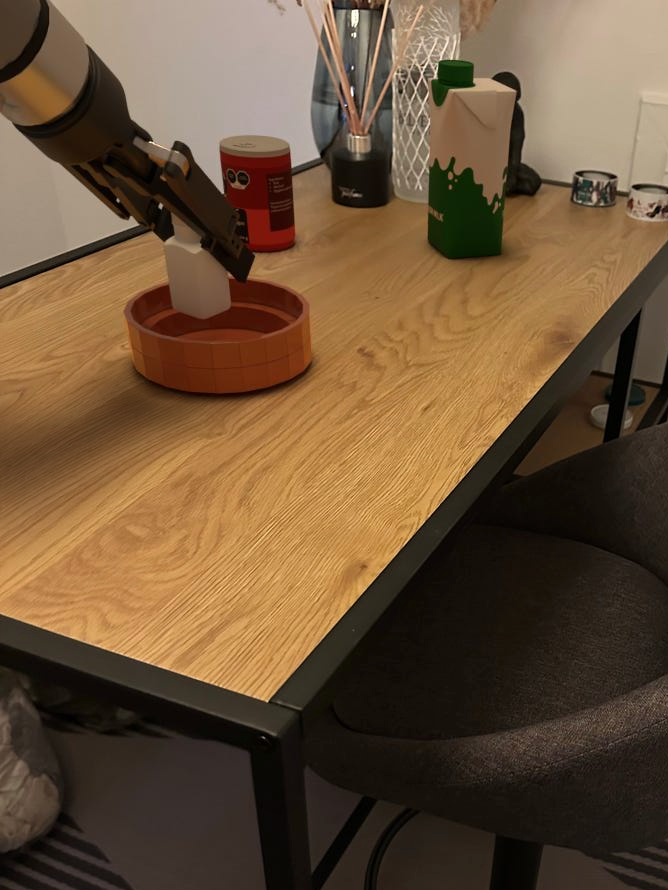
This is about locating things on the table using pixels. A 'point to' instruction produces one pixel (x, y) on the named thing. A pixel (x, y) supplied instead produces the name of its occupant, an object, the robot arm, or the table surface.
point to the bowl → (221, 339)
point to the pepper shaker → (194, 275)
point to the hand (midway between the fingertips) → (224, 263)
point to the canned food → (259, 190)
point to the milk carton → (467, 160)
